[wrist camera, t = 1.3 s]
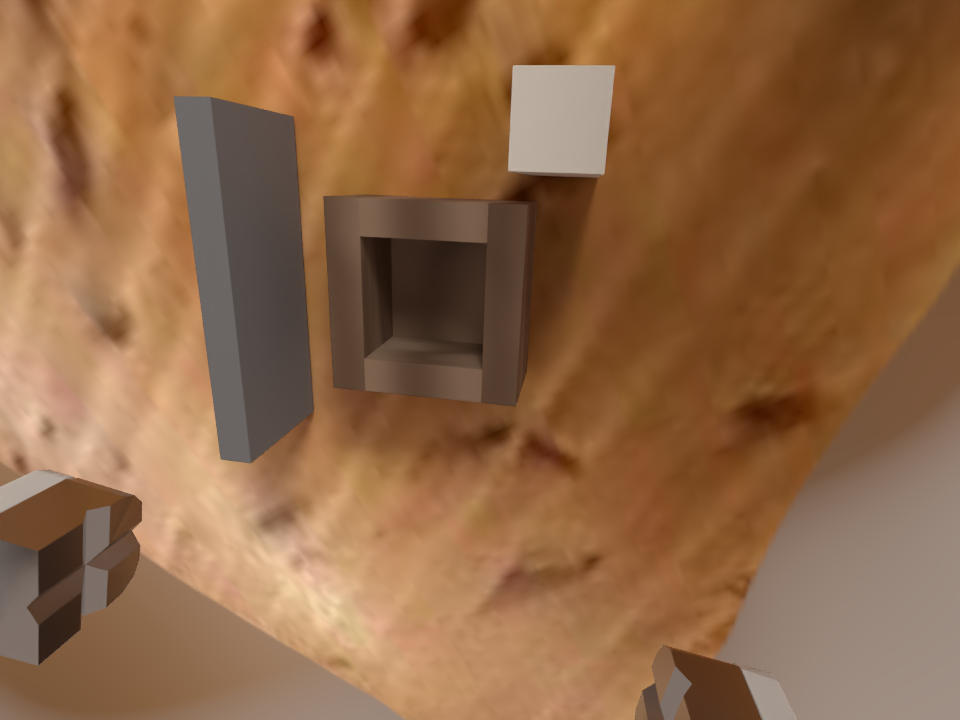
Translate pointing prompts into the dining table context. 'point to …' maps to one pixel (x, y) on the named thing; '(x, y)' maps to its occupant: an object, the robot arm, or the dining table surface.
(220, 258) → the wall
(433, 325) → the brown square open box
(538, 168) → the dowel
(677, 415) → the dining table surface
